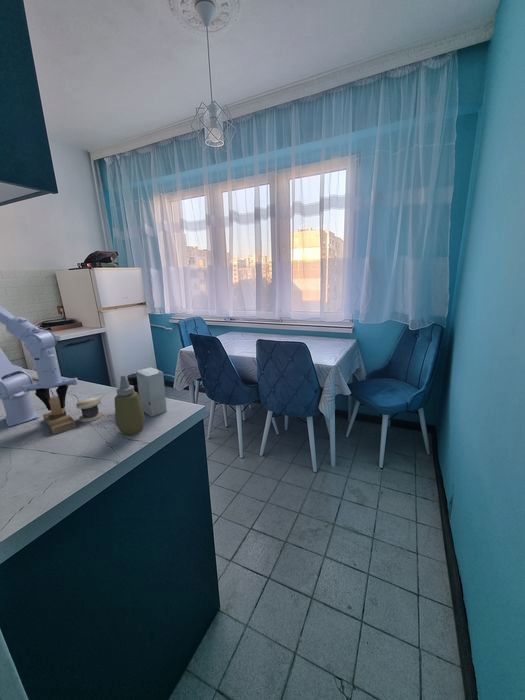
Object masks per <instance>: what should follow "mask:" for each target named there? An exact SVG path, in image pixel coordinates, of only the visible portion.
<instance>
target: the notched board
mask: <svg viewBox="0 0 525 700" xmlns="http://www.w3.org/2000/svg"><path fill="white" fill-rule="evenodd" d="M42 418H43V420H44V423H45V424H46V425H47V427H48V428H49V430H50V431H51V432H52V434H53V435H56V434H60V433H62V432H65V431H68V430H71V429H74V428H76V427H77V424H76V421H75V420H74V418H73V417H72V416H71V415H70V414H68V415H67V411H66V410H65V411H64V413H63V414H59V415H54V416H52V413H51V411H49V412H47V413H43V414H42Z"/></svg>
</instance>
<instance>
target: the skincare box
mask: <svg viewBox="0 0 525 700" xmlns="http://www.w3.org/2000/svg"><path fill="white" fill-rule="evenodd" d="M136 373H137V382H138V391H139V398H140V402H141V405H142V409H143V412H144V413H145V414H147V415H149V416H150V417H155V416H157V415H159V414H163V413H165V412H167V410H168V409H167V399H166V390H165V379H164V372H163V371H161V370H159V369H157V368H153V367H152V366H151V367H146V368H143V369H138V370H136Z"/></svg>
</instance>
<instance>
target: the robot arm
mask: <svg viewBox="0 0 525 700" xmlns="http://www.w3.org/2000/svg"><path fill="white" fill-rule="evenodd" d="M0 323H1V324H3V325H4V326H5V329H6V332H8V333H9V334H11V335H13V337H15V338H17V339H18V340H20V341H21V342H23V345H24V348H25V350H27V351H28V353H29V356H30V357H31V358H32V360H33V364H34V367H35V368H34V369H35V371H36V375H37V379H38V380H37V381H38V382H34V380H33V377H32V376H31V375H30V374H29V373H28V372H26V370H25V369H24V367H21V366H19V365H15V364H13V363H11V361H10V360H9V359H8V357H7V355H6V354H5V352H4V351H3V349H2V348H1V347H0V400H1V403H2V405H3V408H4V412H5V415H6V416H5V417H4V419H5V421H6V424H7V426H8V427H12V426H13V427H14V426H17V425H19V424H23V423H26V422H29V421H32V420H36V419H38V418H39V415H38V414H37V412H36V410H35V409H34V405H33V401H32V398H31V395H30V392H34V391H35V393H34V394H35V396H36V397H37V398H38V399H39V400H40V401H41V402H43V404H44V406H45V407H46V409H47V410H48V412H51V408H50V405H49V401H48V400H49V399H50V398H51V396H50V395H51V394H50V389H54V388H56V389H55V392H56V394H57V395H56V396H58V397H59V400H60V406H61V408H64V407H66V396H67V392H68V388H69V386H77V385H78V384H79V379H78V377H72V378H71V377H70V378H67V377H66V378H62V377H61V374H60V373H61V372H60V369H59V368H60V367H59V364H58V361H57V356H56V351H55V347H56V346H57V344H58V340H57V336H56V335H55V334H54V333H53V332H52V331H51V330H49V329H46V330H45V329H42V328H41V329H40V328H39V327H37V326H36V325H34V324H33V323H31V322H30V321H29V320H28V319H27V318H26V317H21V316H17V317H16V316H15V315H13V314H12V313H11V312H9V311H8V310H7V309H5V308H4V307H3V306H2V305H0Z"/></svg>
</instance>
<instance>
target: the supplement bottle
mask: <svg viewBox="0 0 525 700" xmlns="http://www.w3.org/2000/svg"><path fill="white" fill-rule="evenodd" d="M126 379H127V381H128V383H129V385H133V386H134V391H135V392H137V393H138V395H139V391H138V382H137V373H131V374H128V375H127V377H126Z"/></svg>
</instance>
